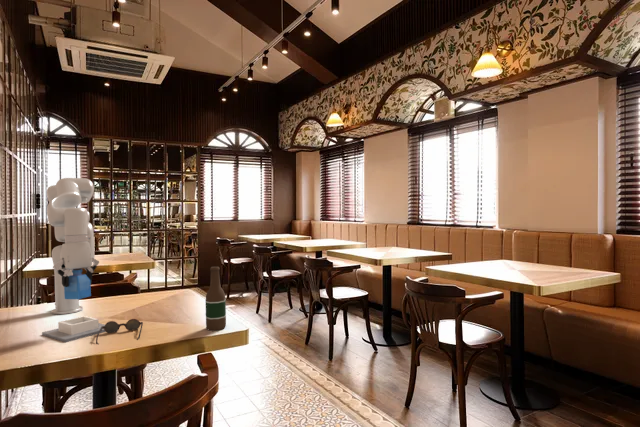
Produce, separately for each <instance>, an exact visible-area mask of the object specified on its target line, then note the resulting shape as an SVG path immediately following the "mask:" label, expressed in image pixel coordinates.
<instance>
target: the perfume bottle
mask: <svg viewBox="0 0 640 427" xmlns="http://www.w3.org/2000/svg"><path fill="white" fill-rule="evenodd" d="M72 273H73V275H71V276H68V277H69V286H68V287H64V294H65V299H79V300H82V299H85V298H88V297H91V296H92V293H91V292H92V291H91V290H92V288H91V287H92V286H91V284H92V283H91V282H90V279H89V278H88V277H87V275H86V273H83V268H80V269H73V270H72Z"/></svg>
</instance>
